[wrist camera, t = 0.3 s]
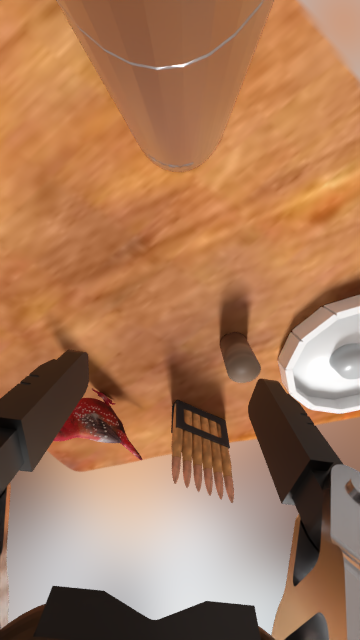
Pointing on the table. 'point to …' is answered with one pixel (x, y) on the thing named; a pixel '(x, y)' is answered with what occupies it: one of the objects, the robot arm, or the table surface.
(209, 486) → the ammunition clip
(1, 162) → the table surface
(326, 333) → the ring tray
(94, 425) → the decorative bird figurine
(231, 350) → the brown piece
